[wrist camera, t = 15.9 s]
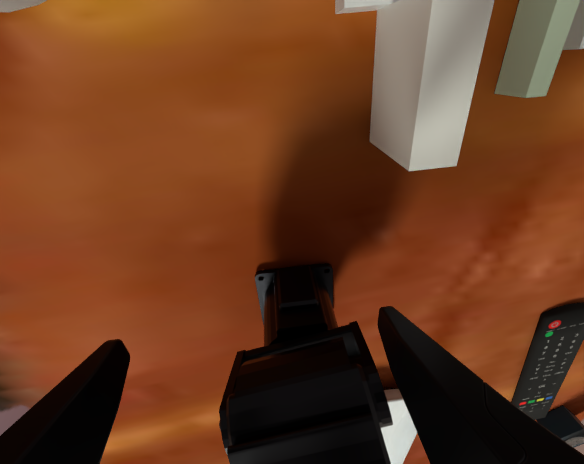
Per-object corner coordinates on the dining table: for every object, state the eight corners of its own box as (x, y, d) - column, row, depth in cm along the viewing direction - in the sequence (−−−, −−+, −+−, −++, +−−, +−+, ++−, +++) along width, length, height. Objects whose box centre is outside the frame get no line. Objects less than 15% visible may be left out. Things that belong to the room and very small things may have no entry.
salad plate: (246, 384, 33) (245, 416, 30) (423, 371, 34) (438, 400, 31) (255, 464, 43) (254, 493, 41) (388, 451, 45) (397, 478, 42)
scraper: (437, 134, 19) (501, 160, 14) (335, 145, 19) (362, 176, 14) (481, -106, 13) (617, -209, 8) (335, -94, 13) (381, -194, 8)
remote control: (502, 415, 43) (509, 425, 42) (537, 306, 30) (548, 316, 29) (537, 407, 42) (545, 417, 41) (587, 295, 30) (600, 304, 29)
